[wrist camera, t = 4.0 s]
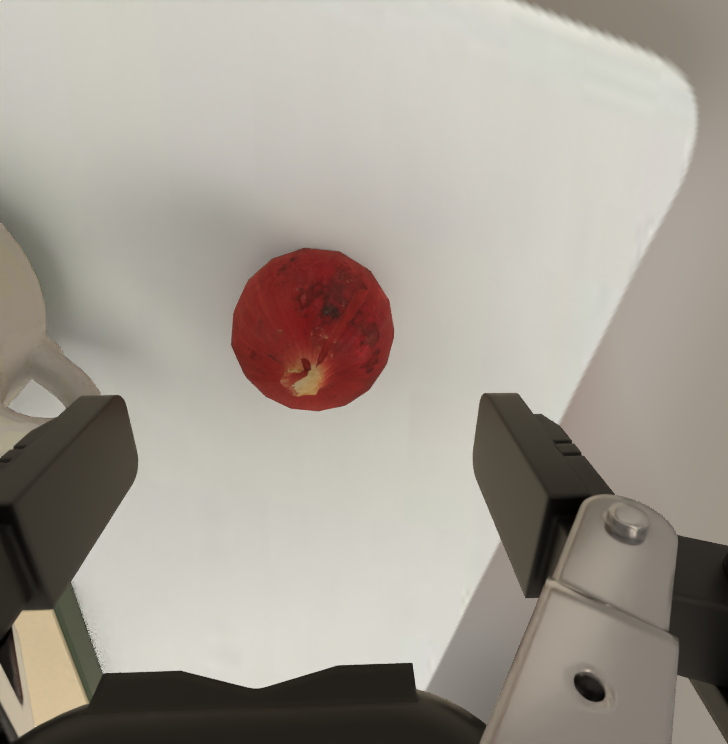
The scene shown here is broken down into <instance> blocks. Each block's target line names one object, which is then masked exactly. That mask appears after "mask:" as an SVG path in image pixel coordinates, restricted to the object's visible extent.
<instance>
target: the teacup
mask: <svg viewBox="0 0 728 744" xmlns="http://www.w3.org/2000/svg"><path fill="white" fill-rule="evenodd" d="M30 379H33V380H34V381H36V382H37V383H39V384H40V385H41V386H43V387H44V388H45V389H47V390H48V391H49V392H51V393H52V394H53V395H54V396H56V397H57V398H58V399H59V400H60V401H61V402H62V403H63V405H64V406H65V407H66V408H68V407H69V406H70V405H71V404H72V403H73V402H74V401H75V400H76V399H77V398H79V397H80V396H83V395H101V394H100V392H99V390H98V388H97V387H96V386H95V384H94V383H93V381H92V380H91V379H90V378H89V377H88V376H87V375H86V374H85V373H84V372H83V371H82V370H81V369H80V368H79V367H78V366H76V365H75V364H74V363H72V362H71V361H70V360H69V359H67V358H66V357H65V356H64V355H63V351H62V349H61V347H60V346H59V345H58V343H56V342H55V341H53V340H52V339H50V338H48V337H47V335H46V309H45V304H44V298H43V295H42V291H41V288H40V285H39V282H38V278H37V276H36V274H35V272H34V270H33V268H32V266H31V264H30V262H29V260H28V258H27V257H26V255H25V253H24V252H23V250H22V249H21V247H20V246H19V244H18V243H17V242H16V240H15V239H14V238H13V236H12V235H11V234H10V233H9V232H8V230H7V229H6V228H5V227H4V226H3V224H2V223H1V222H0V456H1V457H2V456H3V455H4V454H5V453H6V452H8V451H9V450H12V449H13V446H14V445H15V444H16V443H18V442H19V441H20V440H21V439H22V438H23V437H24V436H25V435H27V434H28V433H29V432H30V431H31V430H33V429H35V428H37V427H39V426H41V425H43V424H45V423H46V422H48V421H50V420H52V419H54V418H38V417H30V416H27V415H23V414H20V413H17V412H15V411H13V410H12V409H10V408H8V407H6V406H8V405H9V404H10V402H11V401H12V400H13V399H14V398H15V397H16V396H17V395H18V394H19V393H20V392H21V391H22V389H23V388H24V387H25V386H26V384H27V383H28V381H29V380H30ZM55 418H57V417H55Z"/></svg>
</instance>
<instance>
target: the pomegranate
mask: <svg viewBox="0 0 728 744" xmlns="http://www.w3.org/2000/svg"><path fill="white" fill-rule="evenodd" d="M393 339H394V327H393V321H392V315H391V308H390V302H389V299H388V298H387V296H386V295H385V293H384V291H383V290H382V288H381V287H380V285H379V284H378V282H377V280H376V279H375V277H374V276H373V274H372V273H371V271H369V270H368V269H367V268H365V267H364V266H362V265H361V264H359V263H357V262H356V261H354V260H352V259H351V258H349V257H348V256H346V255H344V254H343V253H341V252H339V251H330V250H320V249H310V248H302V249H299V250H297V251H294V252H291V253H288V254H285V255H282V256H279V257H276V258H273V259H271V260H270V261H269V262H268V263H267V264H266V265H265V266H263V267H262V268H261V269H260V270H259V271H258V272H257V273H255V274H254V275H253V276H252V277H251V278H250V279H249V280H248V282H247V283H246V285H245V287H244V290H243V292H242V294H241V296H240V298H239V301H238V303H237V305H236V307H235V310H234V313H233V324H232V339H231V346H232V348H233V351H234V353H235V355H236V357H237V360H238V362H239V364H240V366H241V369H242V371H243V373H244V375H245V376H246V378H247V379H248V380H249V381H250V382H251V383H252V384H253V385H254V386H256V387H257V388H258V389H259V390H260V391H261V392H262V393H263V394H264V395H265V396H266V397H268V398H270V399H272V400H274V401H276V402H278V403H280V404H282V405H284V406H286V407H289V408H291V409H301V410H311V411H322V410H326V409H331V408H336V407H341V406H345V405H347V404H349V403H350V402H352V401H353V400H355V399H356V398H358V397H359V396H361V395H362V394H364V393H365V392H367V391H368V390H370V388H371V387H372V385H373V384H374V382H375V381H376V379H377V378H378V377H379V375H380V374H381V372H382V371H383V369H384V368H385V366H386V364H387V361H388V358H389V354H390V350H391V346H392V342H393Z"/></svg>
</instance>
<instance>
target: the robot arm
mask: <svg viewBox="0 0 728 744" xmlns="http://www.w3.org/2000/svg"><path fill="white" fill-rule="evenodd" d="M473 468H474V474H475V477H476V480H477V482H478V485H479V487H480V490H481V492H482V494H483V497H484V499H485V502H486V504H487V506H488V509H489V511H490V514H491V516H492V519H493V521H494V523H495V526H496V528H497V531H498V533H499V535H500V538H501V540H502V543H503V545H504V547H505V550H506V552H507V555H508V557H509V560H510V562H511V564H512V567H513V569H514V572H515V574H516V577H517V579H518V581H519V584H520V586H521V589H522V591H523V593H524V596H525V598H539V599H538V601H537V604H536V606H535V609H534V611H533V614H532V616H531V618H530V621H529V623H528V626H527V628H526V631H525V633H524V636H523V638H522V641H521V643H520V645H519V648H518V650H517V653H516V655H515V657H514V660H513V662H512V665H511V667H510V670H509V672H508V675H507V677H506V679H505V682H504V684H503V687H502V689H501V692H500V694H499V697H498V699H497V701H496V704H495V706H494V709H493V711H492V714H491V716H490V718H489V721H488V724H487V725H486V724H485V723H484V722H482V721H481V720H480V719H478V718H477V717H475V716H474V715H472V714H471V713H469V712H468V711H466V710H465V709H463V708H462V707H459V706H458V705H456V704H454V703H452V702H450V701H448V700H447V699H444V698H441V697H439V696H436V695H434V694H431V693H429V692H425V691H421V690H417V689H416V686H415V679H414V672H413V664H412V663H396V664H367V665H338V666H335V667H331V668H328V669H325V670H321V671H318V672H315V673H311V674H308V675H305V676H301V677H298V678H295V679H291V680H288V681H285V682H281V683H278V684H275V685H271V686H268V687H264V688H259V689H253V688H247V687H243V686H239V685H235V684H231V683H227V682H223V681H219V680H215V679H211V678H207V677H203V676H199V675H195V674H191V673H187V672H183V671H162V672H133V673H104V674H103V675H102V677H101V679H100V681H99V684H98V686H97V688H96V690H95V692H94V695H93V697H92V699H91V701H90V703H88V704H85V705H82V706H79V707H77V708H74V709H72V710H69V711H67V712H64V713H62V714H60V715H58V716H56V717H54V718H52V719H50V720H48V721H46V722H44V723H42V724H40V725H38V726H36V727H35V724H34V720H33V714H32V709H31V703H30V697H29V691H28V686H27V680H26V674H25V668H24V663H23V657H22V651H21V645H20V639H19V635H18V632H17V629H16V627H15V625H14V622H15V620H16V619H17V618H18V616H19V615H20V613H21V612H22V610H49V609H54V608H55V606H56V604H57V603H58V601H59V600H60V598H61V596H62V595H63V593H64V592H65V590H66V589H67V587H68V585H69V584H70V582H71V581H72V579H73V577H74V576H75V574H76V573H77V571H78V570H79V568H80V566H81V565H82V563H83V562H84V560H85V558H86V557H87V555H88V554H89V552H90V551H91V549H92V547H93V546H94V544H95V543H96V541H97V539H98V538H99V536H100V535H101V533H102V532H103V530H104V528H105V527H106V525H107V524H108V522H109V520H110V519H111V517H112V516H113V514H114V513H115V511H116V509H117V508H118V506H119V505H120V503H121V501H122V500H123V498H124V497H125V495H126V494H127V492H128V490H129V489H130V487H131V486H132V484H133V482H134V480H135V478H136V474H137V469H138V454H137V450H136V445H135V441H134V437H133V432H132V428H131V424H130V419H129V415H128V411H127V406H126V403H125V401H124V399H123V398H122V397H121V396H119V395H83V396H80V397H79V398H77V399H76V400H75V401H74V402H73V403H72V404H71V405H70V406H69V407H68V408H67V409H66V410H65V411H63V412H62V413H61V414H60V415H59V416H58V417H57V418H54V419H52V420H50V421H48V422H46V423H45V424H43V425H41V426H39V427H37V428H35V429H33V430H31V431H30V432H29V433H28V434H27V435H25V436H24V437H23V438H22V439H21V440H20V441H19V442H18V443H16V444H15V445H14V446H13V449H12V450H9V451H8V452H6V453H5V454H4V455H3V456H2V457H1V458H0V744H671V742H672V730H673V717H674V705H675V704H674V703H675V693H676V680H677V675H680V676H683V677H687V678H688V679H689V680H690V682H691V683H692V685H693V686H694V688H695V690H696V692H697V694H698V695H699V697H700V698H701V700H702V702H703V703H704V705H705V707H706V708H707V710H708V712H709V713H710V715H711V717H712V718H713V720H714V722H715V723H716V725H717V727H718V728H719V730H720V732H721V733H722V735H723V737H724V738H725V740H726V742H727V743H728V546H727V545H722V544H717V543H712V542H707V541H702V540H698V539H692V538H688V537H683V536H679V535H677V534H676V531H675V530H674V528H673V527H672V525H671V524H670V523H669V522H668V521H667V520H666V519H665V518H664V517H663V516H662V515H661V514H659V513H658V512H657V511H655V510H654V509H652V508H650V507H649V506H647V505H645V504H642V503H641V502H638V501H635V500H633V499H630V498H626V497H623V496H618V495H615V494H614V493H613V492H612V490H611V489H610V488H609V486H608V485H607V484H606V483H605V481H604V480H603V479H602V478H601V476H600V475H599V474H598V473H597V472H596V470H595V469H594V468H593V467H592V465H591V464H590V463H589V462H588V460H587V459H586V458H585V457H584V456H582V455H581V452H580V450H579V449H578V448H577V447H576V445H575V444H572V440H571V439H570V438H569V437H568V435H567V434H566V433H565V432H564V430H563V429H562V428H561V427H560V426H559V425H558V424H556V423H554V422H553V421H551V420H550V419H548V418H547V417H545V416H544V415H542V414H533V413H532V412H531V410H530V409H529V407H528V406H527V405H526V403H525V402H524V401H523V399H522V398H521V397H520V395H519V394H517V393H484V394H483V395H482V397H481V399H480V404H479V411H478V418H477V425H476V433H475V440H474V447H473Z"/></svg>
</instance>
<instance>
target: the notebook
mask: <svg viewBox="0 0 728 744" xmlns="http://www.w3.org/2000/svg"><path fill="white" fill-rule="evenodd" d="M14 625H15V627H16V629H17V632H18V635H19V639H20V645H21V651H22V657H23V663H24V668H25V674H26V680H27V686H28V691H29V697H30V703H31V709H32V714H33V720H34V724H35V726H38V725H40V724H42V723H44V722H46V721H48V720H50V719H52V718H54V717H56V716H58V715H60V714H62V713H64V712H67V711H69V710H72V709H74V708H77V707H79V706H82V705H85V704H88V703H90V701H91V699H92V697H93V695H94V692H95V690H96V688H97V686H98V684H99V681H100V679H101V677H102V672H101V670H100V667H99V664H98V661H97V658H96V655H95V652H94V649H93V647H92V644H91V641H90V638H89V635H88V632H87V629H86V626H85V623H84V621H83V618H82V615H81V612H80V609H79V606H78V603H77V600H76V598H75V595H74V592H73V589H72V586H71V583H70V584H69V585H68V587H67V589H66V590H65V592H64V593H63V595H62V596H61V598H60V600H59V601H58V603H57V604H56V606H55V608H54V609H49V610H22V612H21V613H20V615H19V616H18V618H17V619H16V620H15V622H14Z"/></svg>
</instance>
